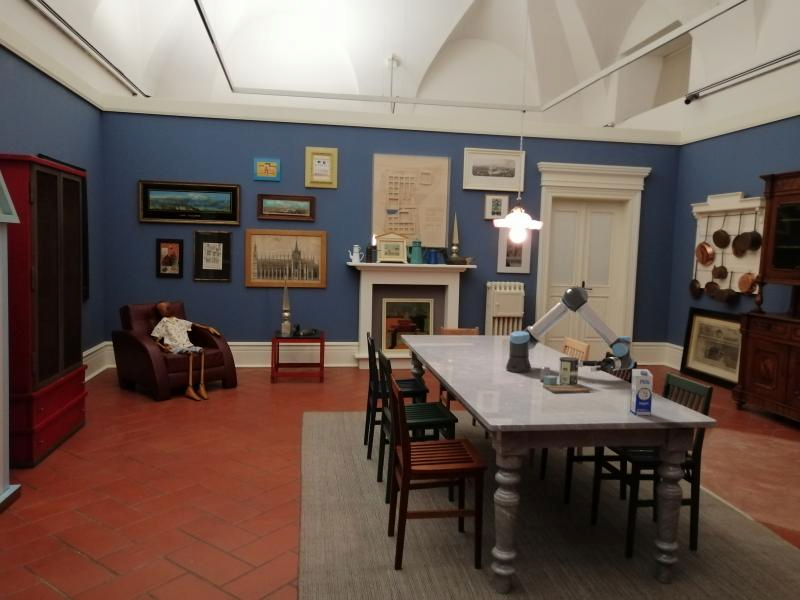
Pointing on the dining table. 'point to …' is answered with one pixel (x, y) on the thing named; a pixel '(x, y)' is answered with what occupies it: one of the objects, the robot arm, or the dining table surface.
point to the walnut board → (565, 388)
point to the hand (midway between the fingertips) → (582, 366)
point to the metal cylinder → (544, 373)
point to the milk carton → (641, 392)
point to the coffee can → (568, 371)
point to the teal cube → (550, 380)
